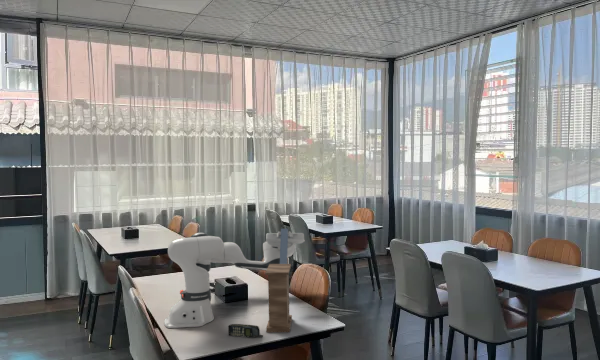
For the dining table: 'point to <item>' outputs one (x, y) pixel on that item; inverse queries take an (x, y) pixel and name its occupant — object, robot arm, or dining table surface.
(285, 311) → the pedestal
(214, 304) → the dining table surface
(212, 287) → the graphics card
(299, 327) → the dining table surface
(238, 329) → the mobile phone
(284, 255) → the batten
